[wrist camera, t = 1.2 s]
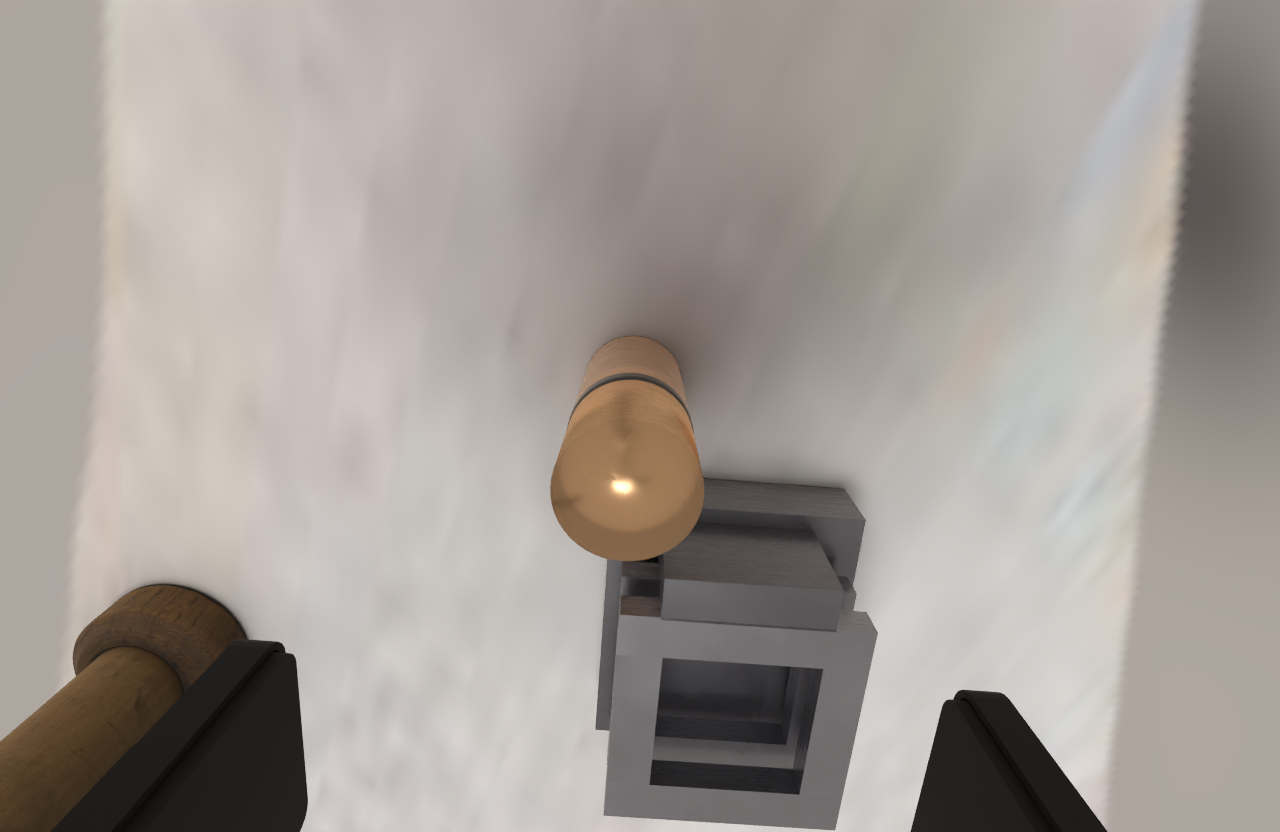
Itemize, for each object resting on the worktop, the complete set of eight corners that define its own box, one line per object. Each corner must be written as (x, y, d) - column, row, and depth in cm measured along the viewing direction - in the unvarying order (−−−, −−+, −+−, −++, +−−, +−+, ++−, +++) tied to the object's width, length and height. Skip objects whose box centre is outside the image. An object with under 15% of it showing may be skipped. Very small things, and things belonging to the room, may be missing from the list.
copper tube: (587, 331, 27) (552, 413, 17) (686, 339, 27) (713, 425, 17) (582, 425, 29) (546, 556, 18) (677, 433, 29) (696, 566, 18)
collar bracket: (614, 471, 29) (605, 558, 22) (844, 488, 29) (907, 580, 22) (599, 683, 33) (587, 816, 26) (805, 697, 33) (850, 833, 26)
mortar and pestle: (89, 658, 32) (-537, 1176, 15) (138, 558, 31) (-501, 1012, 14) (219, 721, 33) (-228, 1271, 16) (273, 628, 32) (-160, 1130, 15)
